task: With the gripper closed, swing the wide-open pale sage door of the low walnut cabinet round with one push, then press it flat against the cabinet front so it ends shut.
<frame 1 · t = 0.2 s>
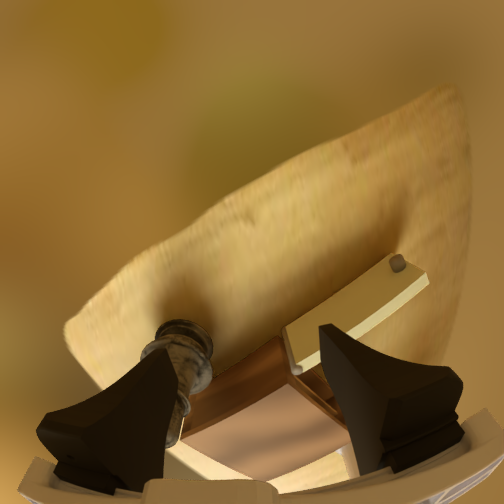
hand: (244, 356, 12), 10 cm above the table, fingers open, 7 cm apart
cabinet: (267, 398, 25), on the table
door: (348, 306, 19), point 3 cm above the table, hinge at 85.0°
dark tiered stone ornament: (183, 343, 23), on the table
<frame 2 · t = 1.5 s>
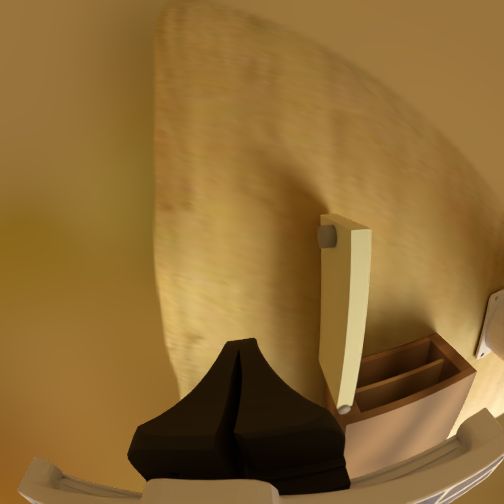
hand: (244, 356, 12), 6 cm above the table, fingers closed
cabinet: (380, 395, 21), on the table
door: (333, 317, 16), point 3 cm above the table, hinge at 85.0°
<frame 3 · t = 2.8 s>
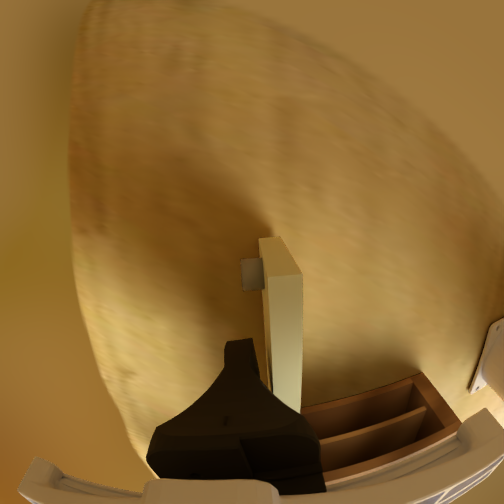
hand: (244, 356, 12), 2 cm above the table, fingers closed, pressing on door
cabinet: (351, 437, 18), on the table
door: (271, 372, 12), point 3 cm above the table, hinge at 84.8°, touching gripper
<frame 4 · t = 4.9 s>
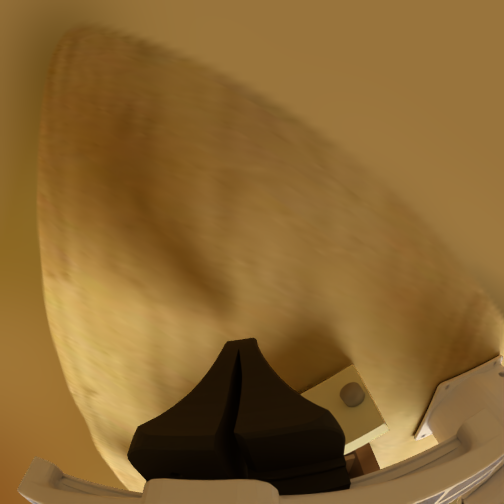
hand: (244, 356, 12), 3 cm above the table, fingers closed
cabinet: (289, 466, 19), on the table
door: (279, 436, 13), point 3 cm above the table, hinge at 30.4°
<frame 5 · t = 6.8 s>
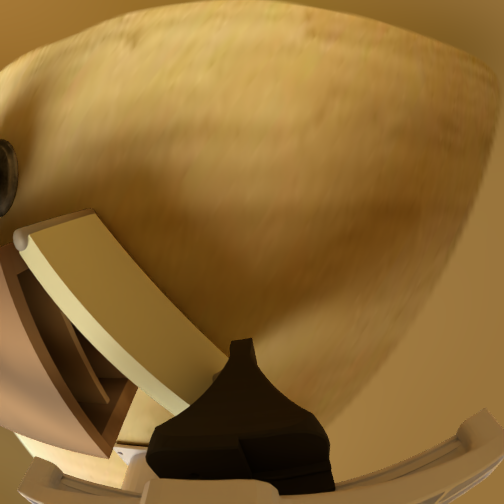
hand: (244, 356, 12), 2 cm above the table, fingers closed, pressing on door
cabinet: (44, 319, 14), on the table
door: (142, 313, 11), point 3 cm above the table, hinge at 29.2°, touching gripper
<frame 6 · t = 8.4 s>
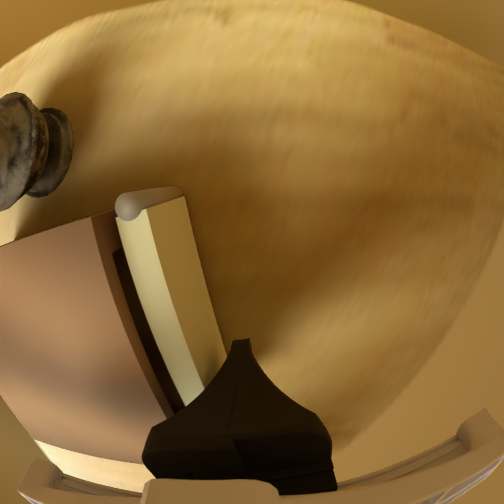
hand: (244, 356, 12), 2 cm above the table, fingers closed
cabinet: (97, 314, 14), on the table
door: (201, 324, 11), point 3 cm above the table, hinge at 1.7°, touching gripper
dark tiered stone ornament: (42, 152, 12), on the table
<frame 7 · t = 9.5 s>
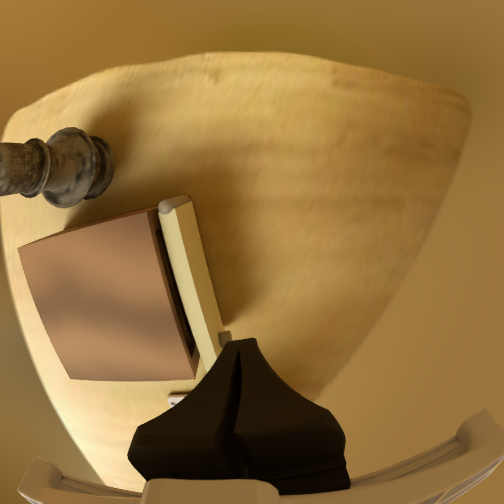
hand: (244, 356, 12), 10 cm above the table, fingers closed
cabinet: (128, 281, 21), on the table
door: (201, 278, 18), point 3 cm above the table, hinge at 1.6°
dark tiered stone ornament: (88, 167, 19), on the table
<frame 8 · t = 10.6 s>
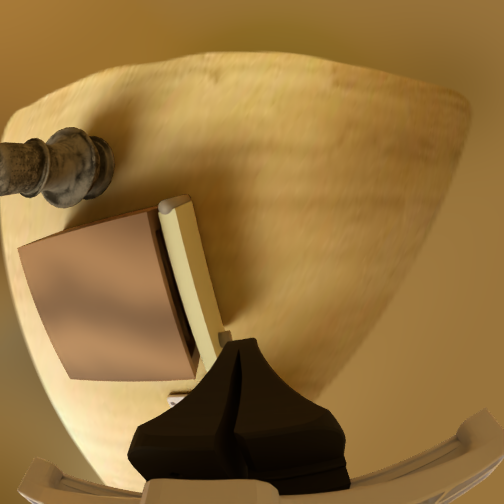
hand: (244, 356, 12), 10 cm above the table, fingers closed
cabinet: (128, 281, 21), on the table
door: (201, 278, 18), point 3 cm above the table, hinge at 1.6°
dark tiered stone ornament: (88, 167, 19), on the table
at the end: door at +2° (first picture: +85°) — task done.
